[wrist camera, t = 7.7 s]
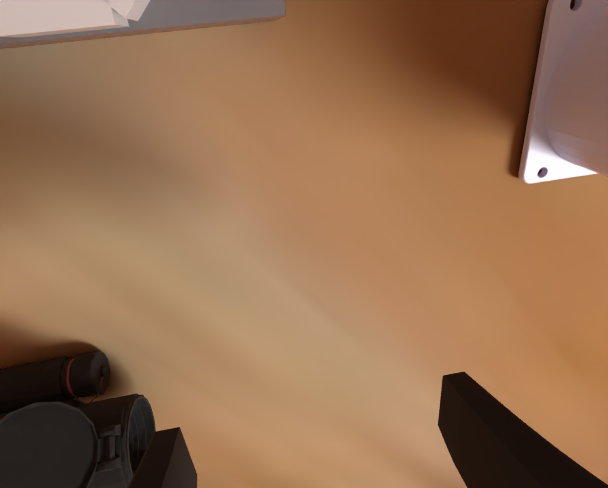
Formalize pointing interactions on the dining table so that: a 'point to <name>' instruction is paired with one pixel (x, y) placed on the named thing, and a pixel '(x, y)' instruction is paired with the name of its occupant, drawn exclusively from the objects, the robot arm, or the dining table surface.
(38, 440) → the night vision scope
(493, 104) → the dining table surface
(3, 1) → the camera body
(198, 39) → the dining table surface
